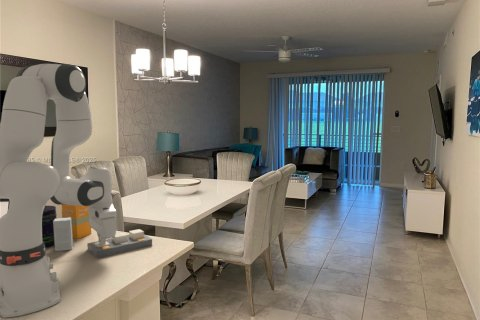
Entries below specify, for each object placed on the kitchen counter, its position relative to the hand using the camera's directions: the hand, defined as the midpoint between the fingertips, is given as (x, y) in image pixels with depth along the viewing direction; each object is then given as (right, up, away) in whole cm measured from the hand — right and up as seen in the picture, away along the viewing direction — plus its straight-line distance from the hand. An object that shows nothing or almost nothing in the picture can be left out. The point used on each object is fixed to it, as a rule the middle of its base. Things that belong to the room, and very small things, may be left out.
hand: (102, 243), depth 141 cm
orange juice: (-18, -1, +19) cm, 26 cm away
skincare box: (-16, -3, +2) cm, 16 cm away
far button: (+11, 0, +8) cm, 14 cm away
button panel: (+6, -2, +4) cm, 7 cm away
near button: (0, -3, 0) cm, 3 cm away
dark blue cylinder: (-26, -2, +7) cm, 27 cm away
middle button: (+5, 0, +4) cm, 7 cm away
